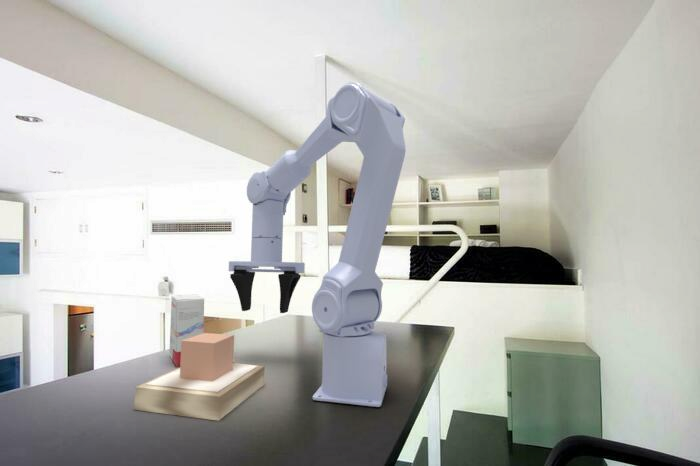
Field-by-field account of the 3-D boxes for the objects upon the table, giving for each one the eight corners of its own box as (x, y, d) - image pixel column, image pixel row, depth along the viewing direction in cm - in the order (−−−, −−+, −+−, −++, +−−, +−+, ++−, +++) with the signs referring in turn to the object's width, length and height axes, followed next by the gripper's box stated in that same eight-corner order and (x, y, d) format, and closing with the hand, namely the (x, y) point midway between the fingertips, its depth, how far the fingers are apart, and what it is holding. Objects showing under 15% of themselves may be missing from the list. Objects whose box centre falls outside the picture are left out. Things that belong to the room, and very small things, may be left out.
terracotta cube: (232, 369, 51) (234, 335, 51) (212, 381, 46) (214, 343, 46) (202, 366, 52) (204, 332, 52) (179, 378, 47) (181, 340, 47)
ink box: (204, 363, 63) (206, 298, 64) (173, 368, 60) (176, 299, 61) (195, 352, 70) (198, 293, 71) (167, 355, 67) (170, 294, 68)
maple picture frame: (264, 384, 53) (264, 364, 53) (218, 420, 41) (219, 394, 42) (195, 377, 56) (195, 358, 56) (134, 409, 44) (135, 385, 44)
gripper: (310, 239, 68) (308, 310, 67) (243, 239, 71) (240, 306, 70) (297, 237, 61) (295, 316, 60) (223, 237, 64) (220, 311, 63)
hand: (264, 311), depth 64 cm, fingers open, 7 cm apart
